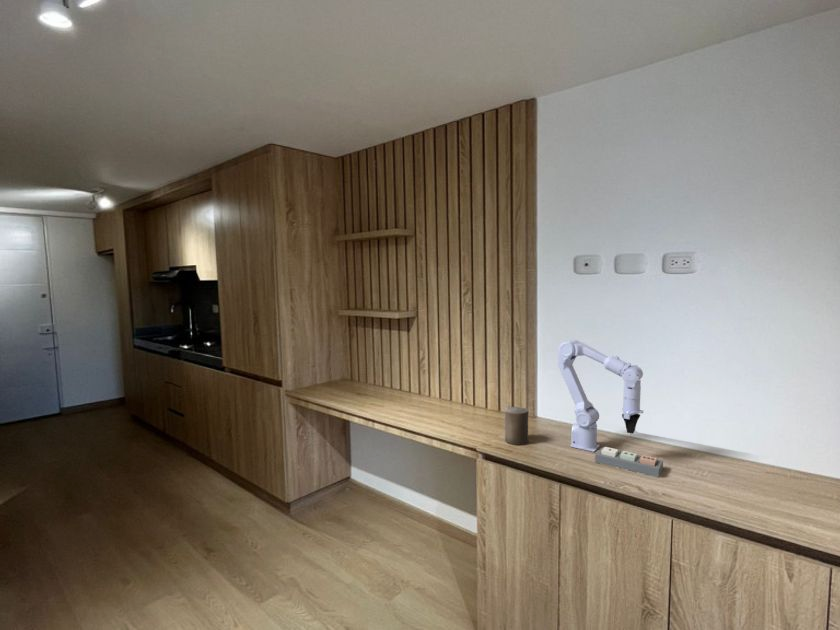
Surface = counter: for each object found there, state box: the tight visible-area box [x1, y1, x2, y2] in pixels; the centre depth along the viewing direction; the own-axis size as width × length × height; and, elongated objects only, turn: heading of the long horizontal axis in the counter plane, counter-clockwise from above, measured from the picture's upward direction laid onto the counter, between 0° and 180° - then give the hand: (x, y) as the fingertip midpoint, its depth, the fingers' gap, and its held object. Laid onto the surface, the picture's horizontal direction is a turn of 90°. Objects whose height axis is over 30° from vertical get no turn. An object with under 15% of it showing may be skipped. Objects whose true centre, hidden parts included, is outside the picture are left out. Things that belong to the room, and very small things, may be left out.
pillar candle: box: [504, 406, 529, 446], centre depth 183 cm, size 10×10×15 cm
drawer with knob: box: [601, 446, 619, 457], centre depth 162 cm, size 5×5×4 cm
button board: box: [594, 446, 664, 478], centre depth 158 cm, size 21×9×3 cm, turn 52°
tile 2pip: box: [620, 450, 638, 462], centre depth 158 cm, size 5×5×4 cm
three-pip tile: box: [640, 454, 658, 466], centre depth 154 cm, size 5×5×4 cm
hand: (630, 432), depth 165 cm, fingers closed
